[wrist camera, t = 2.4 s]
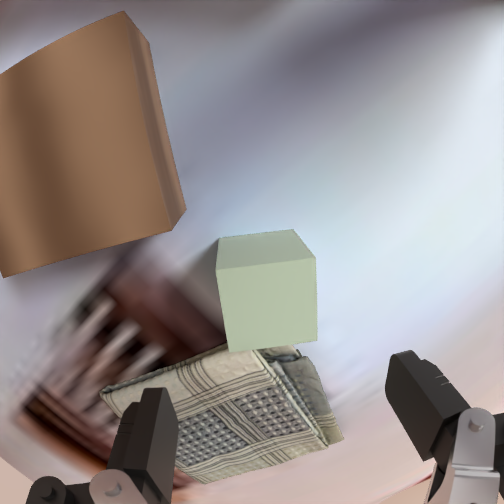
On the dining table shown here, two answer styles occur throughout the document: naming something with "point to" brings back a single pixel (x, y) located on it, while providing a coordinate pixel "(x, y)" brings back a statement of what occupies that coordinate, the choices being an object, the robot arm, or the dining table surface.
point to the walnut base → (83, 148)
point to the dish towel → (239, 409)
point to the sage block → (267, 290)
